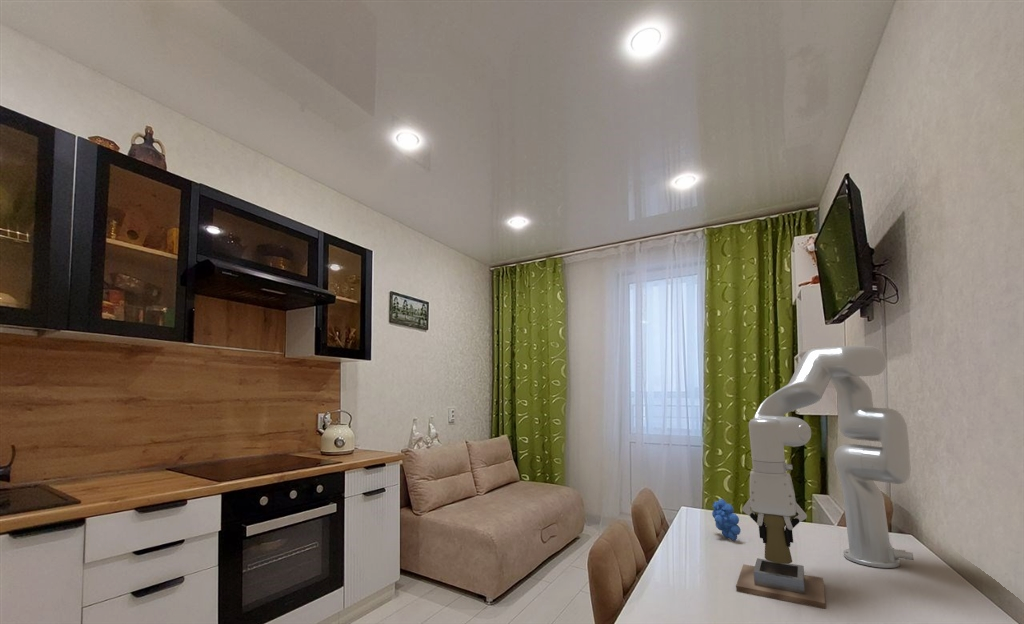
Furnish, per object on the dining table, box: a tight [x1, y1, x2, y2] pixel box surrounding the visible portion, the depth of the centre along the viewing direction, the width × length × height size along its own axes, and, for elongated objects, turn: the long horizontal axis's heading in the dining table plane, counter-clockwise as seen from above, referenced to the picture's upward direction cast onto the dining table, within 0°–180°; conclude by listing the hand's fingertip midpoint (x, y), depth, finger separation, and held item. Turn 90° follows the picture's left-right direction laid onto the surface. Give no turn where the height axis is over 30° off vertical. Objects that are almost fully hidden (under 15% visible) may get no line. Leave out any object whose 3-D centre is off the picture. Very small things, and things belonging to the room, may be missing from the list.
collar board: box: [735, 563, 826, 610], centre depth 114 cm, size 18×16×1 cm
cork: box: [763, 514, 793, 564], centre depth 115 cm, size 6×6×11 cm
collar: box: [753, 558, 806, 594], centre depth 114 cm, size 10×10×3 cm
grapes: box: [711, 498, 741, 541], centre depth 151 cm, size 12×7×12 cm, turn 16°
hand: (776, 542), depth 115 cm, fingers closed on cork, 4 cm apart
